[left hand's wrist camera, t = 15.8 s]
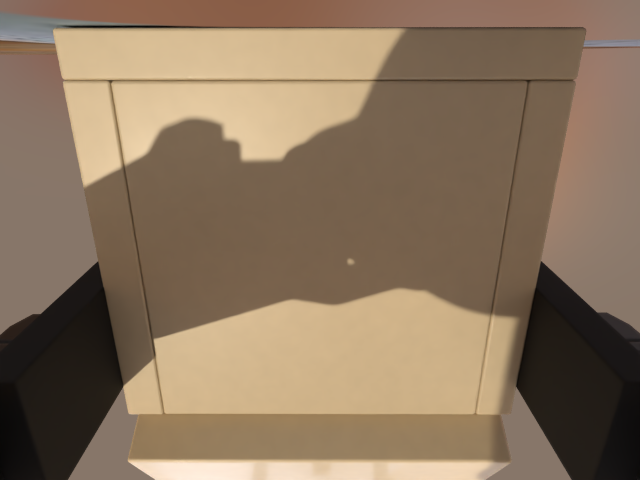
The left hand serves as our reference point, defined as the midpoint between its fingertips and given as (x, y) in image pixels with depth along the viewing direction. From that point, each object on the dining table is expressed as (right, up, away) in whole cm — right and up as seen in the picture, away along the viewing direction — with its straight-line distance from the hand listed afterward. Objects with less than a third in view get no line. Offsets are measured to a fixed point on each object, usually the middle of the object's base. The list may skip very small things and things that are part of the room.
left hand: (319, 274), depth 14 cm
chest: (0, +8, +2) cm, 8 cm away
